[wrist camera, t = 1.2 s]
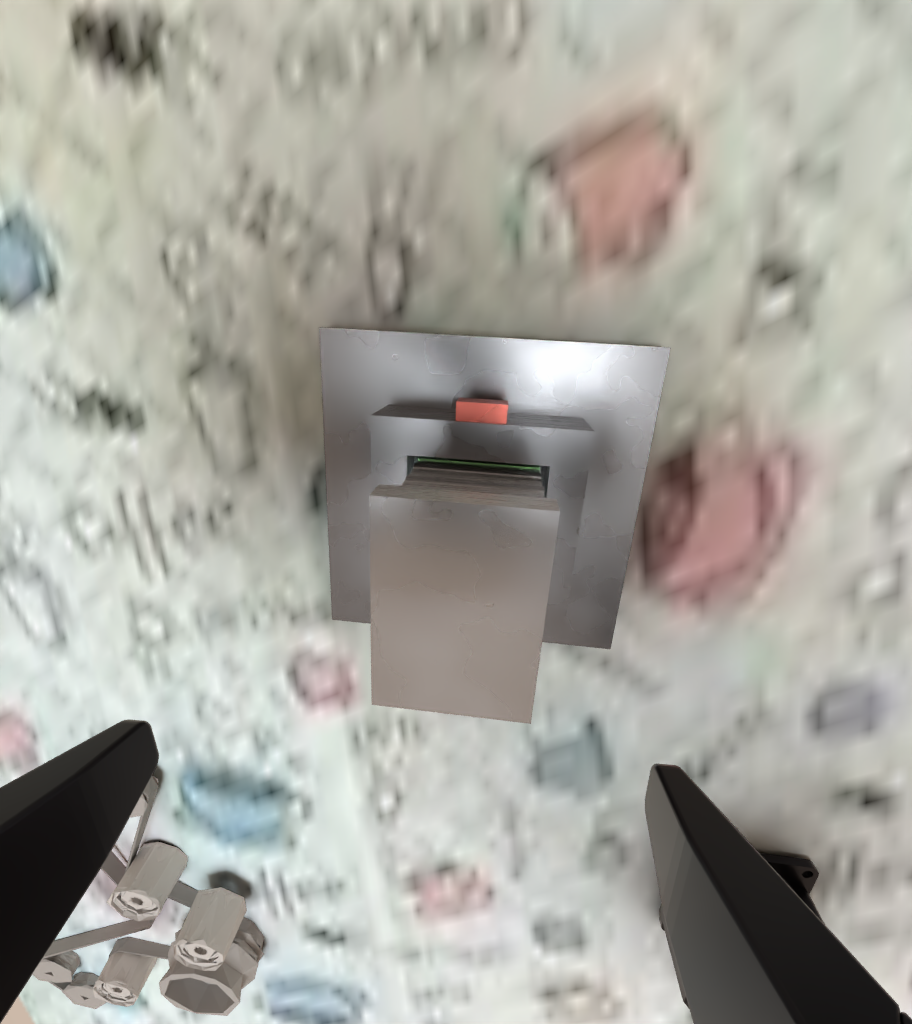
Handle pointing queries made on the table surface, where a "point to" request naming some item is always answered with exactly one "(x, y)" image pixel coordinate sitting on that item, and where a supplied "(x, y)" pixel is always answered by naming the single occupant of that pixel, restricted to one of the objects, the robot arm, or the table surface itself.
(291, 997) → the table surface
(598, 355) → the stand base
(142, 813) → the pulley system
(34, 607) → the table surface
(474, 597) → the grey slab
